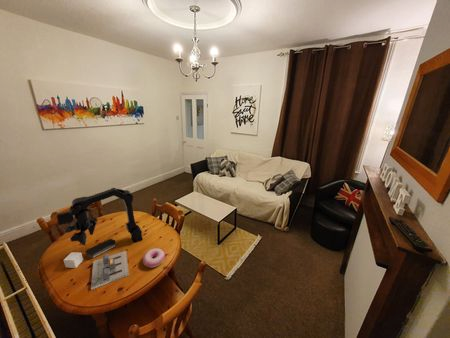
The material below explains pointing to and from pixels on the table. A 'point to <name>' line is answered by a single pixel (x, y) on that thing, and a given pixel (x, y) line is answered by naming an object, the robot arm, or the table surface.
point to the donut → (151, 261)
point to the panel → (114, 273)
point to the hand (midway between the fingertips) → (88, 239)
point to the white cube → (73, 260)
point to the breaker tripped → (111, 263)
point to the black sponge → (100, 248)
